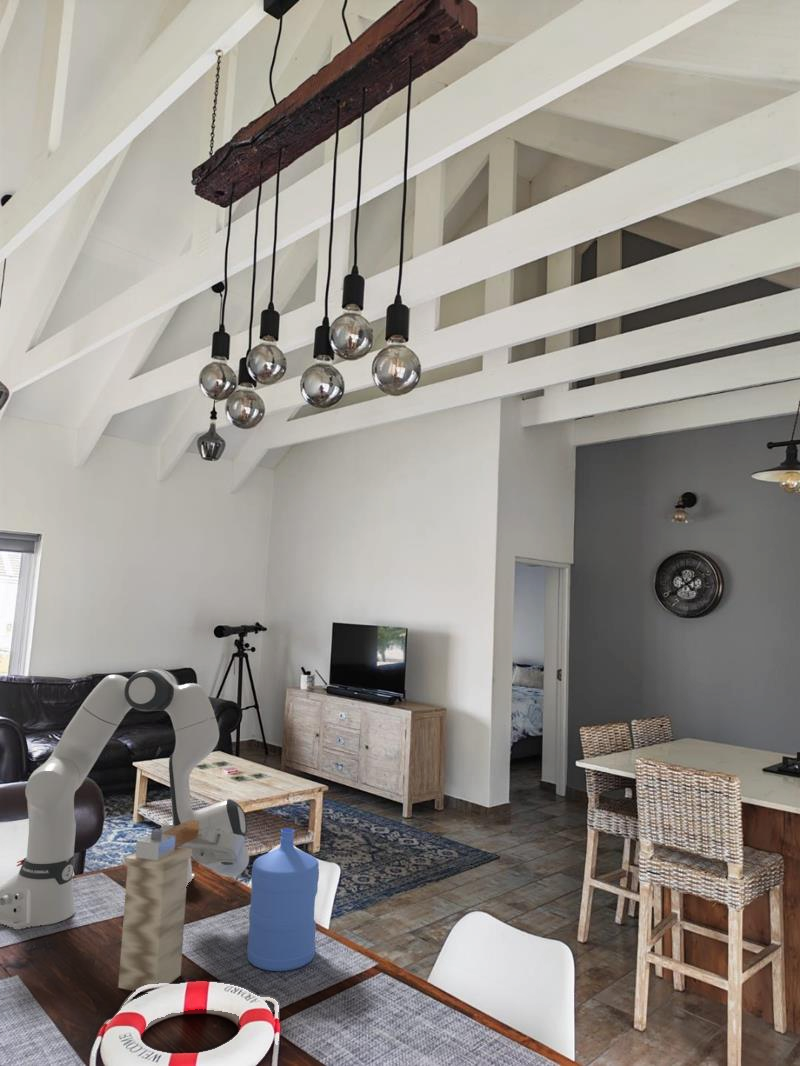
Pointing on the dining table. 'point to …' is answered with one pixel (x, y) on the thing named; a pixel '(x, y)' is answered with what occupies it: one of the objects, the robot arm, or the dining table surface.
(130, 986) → the birch stand
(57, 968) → the dining table surface
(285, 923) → the water jug
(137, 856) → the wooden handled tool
